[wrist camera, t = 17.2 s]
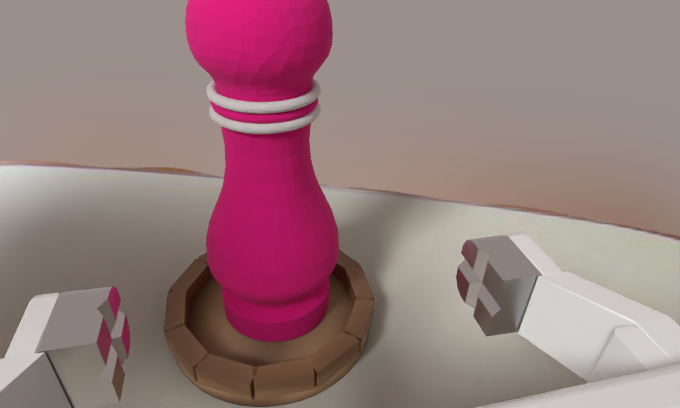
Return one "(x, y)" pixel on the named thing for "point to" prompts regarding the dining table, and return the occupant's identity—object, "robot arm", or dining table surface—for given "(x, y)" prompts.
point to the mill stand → (262, 356)
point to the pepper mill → (267, 161)
